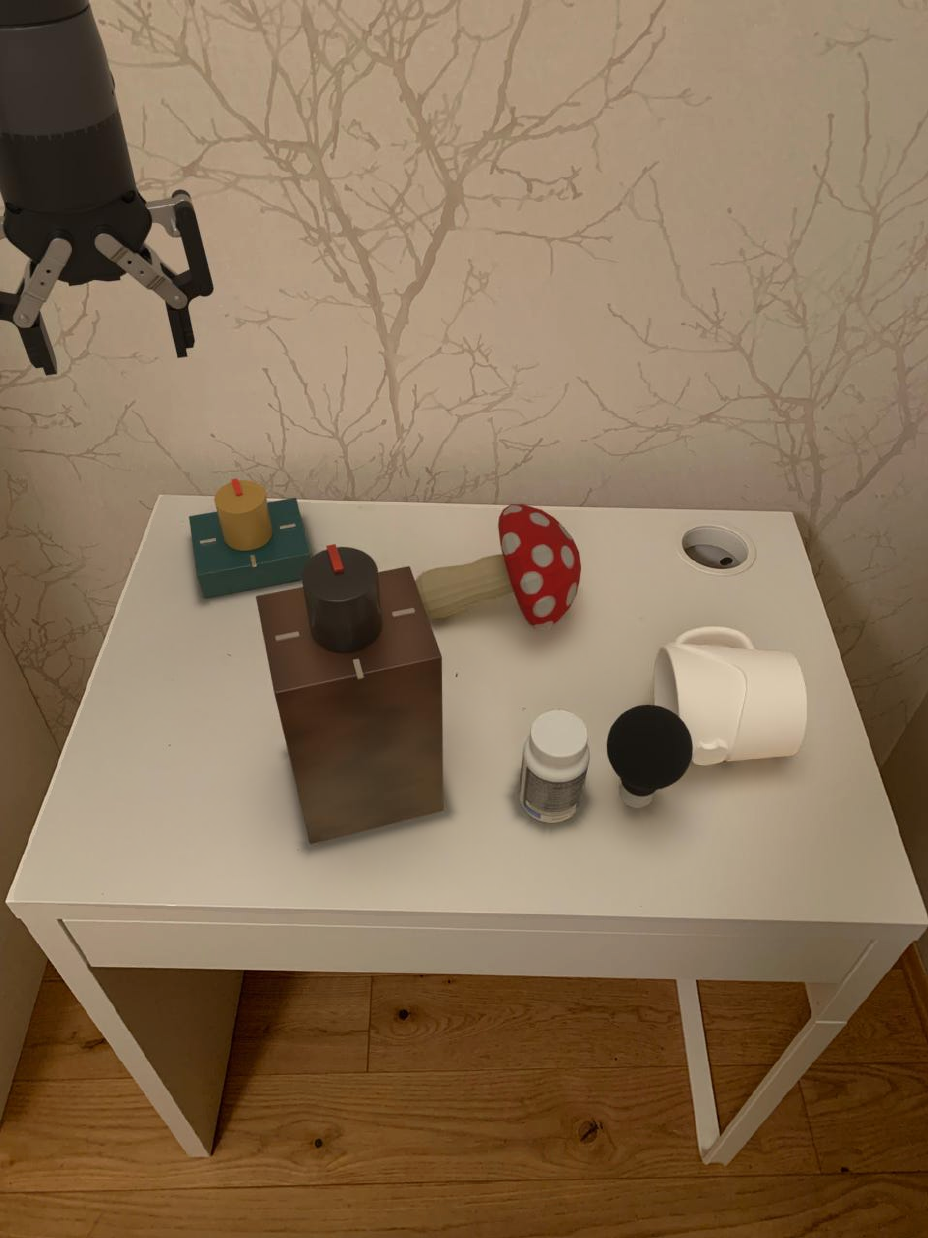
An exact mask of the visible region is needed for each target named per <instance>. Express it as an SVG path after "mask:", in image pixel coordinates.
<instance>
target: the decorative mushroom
mask: <svg viewBox="0 0 928 1238" xmlns="http://www.w3.org/2000/svg"><path fill="white" fill-rule="evenodd" d="M497 529H498V530H497V531H498V537H499V545H500V550H501V553H499V554H494V555H489V556H485V557H482V558H479V559H477V560H474V561H472V562H468V563H462V564H457V565H448V566H439V567H434V568H432V569H428V570H425V571H422V572H421V574H419V576H418V577H417V578H416V579H415V582H416V585H417V588H418V591H419V593H420V596H421V599H422V602H423V605H424V608H425V610H426V613H427V616H428V618H431V619H435V620H438V619H443V618H446V617H450V616H452V615H455V614H456V613H459V612H461V611H462V610H464V609H467V608H469V607H471V606H473V605H476V604H479V603H481V602H485V601H490V600H496V599H499V598H501V597H504V596H507V595H509V594H512V593H513V594H514V595H513V596H514V598H515V600H516V603H517V605H518V607H519V609H520V611H521V614H522V616H523V618H524V619H525V621H526V622H527V623H528V624H529V625H530V626H532V627H533V628H535V629H537V630H548V629H550V628H551V627H552V626H554V625H555V624H557V623H558V622H559V621H560V620H561V619H562V618H563V617H564V615H565V614H566V613H567V612H568V611H569V610H570V609H571V606H572V604H573V603H574V601H575V599H576V596H577V593H578V590H579V585H580V581H581V571H582V563H581V555H580V551H579V549H578V546H577V544H576V541H575V540H574V537H573V536H572V535H571V534H570V533H569V532H568V530H567V529H566V527H565V526H563V525H562V524H561V522H559V520H558V519H556V517H554V516H553V515H551V514H549V513H548V512H546V511H544V510H543V509H540V508H537V507H533V506H530V505H528V504H524V503H523V504H521V503H511V504H509V505H507V506H506V507H504V508H503V509H502V510H501V513H500V514H499V516H498V521H497Z"/></svg>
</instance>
